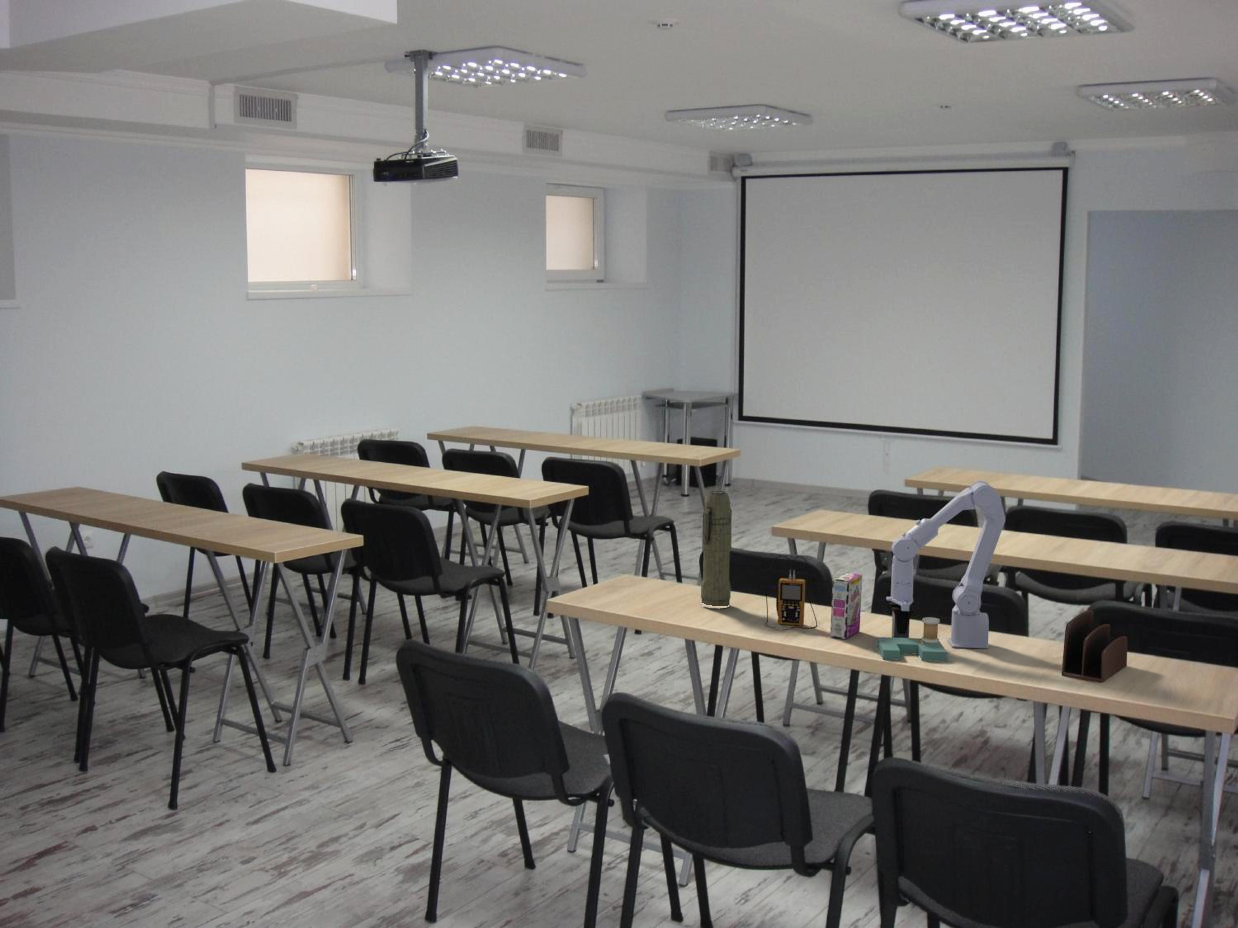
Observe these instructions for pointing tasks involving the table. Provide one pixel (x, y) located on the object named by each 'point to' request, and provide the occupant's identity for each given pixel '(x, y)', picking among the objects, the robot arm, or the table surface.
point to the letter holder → (1092, 650)
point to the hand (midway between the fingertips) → (900, 631)
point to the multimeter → (790, 600)
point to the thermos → (716, 549)
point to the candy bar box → (846, 605)
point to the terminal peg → (894, 629)
